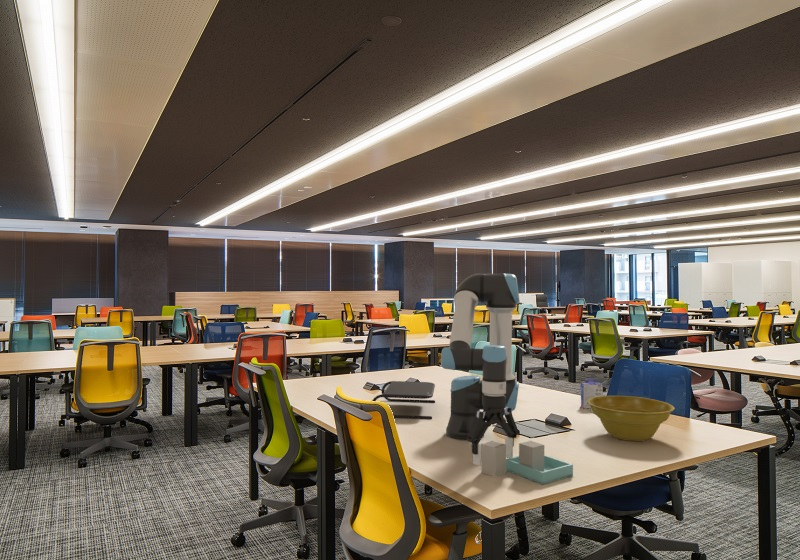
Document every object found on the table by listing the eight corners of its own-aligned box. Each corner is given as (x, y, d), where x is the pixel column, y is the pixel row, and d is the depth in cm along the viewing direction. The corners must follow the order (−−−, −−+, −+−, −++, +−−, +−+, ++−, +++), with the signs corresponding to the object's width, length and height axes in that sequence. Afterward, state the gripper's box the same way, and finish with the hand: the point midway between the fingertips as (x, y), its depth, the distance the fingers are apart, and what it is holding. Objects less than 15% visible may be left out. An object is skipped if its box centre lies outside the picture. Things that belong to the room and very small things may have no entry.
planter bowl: (621, 451, 195) (622, 414, 195) (571, 428, 226) (571, 396, 226) (693, 445, 203) (694, 409, 204) (635, 424, 235) (635, 394, 235)
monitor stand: (432, 420, 239) (432, 396, 240) (370, 417, 242) (370, 393, 243) (435, 403, 276) (435, 382, 276) (381, 401, 279) (381, 380, 279)
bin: (505, 470, 172) (505, 459, 172) (535, 462, 180) (535, 452, 180) (542, 484, 160) (542, 472, 160) (572, 475, 168) (572, 464, 168)
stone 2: (530, 468, 172) (530, 440, 172) (544, 473, 167) (544, 444, 168) (518, 471, 169) (519, 443, 169) (532, 477, 164) (532, 447, 165)
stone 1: (481, 472, 170) (481, 443, 170) (492, 468, 174) (492, 440, 174) (495, 476, 166) (495, 447, 166) (505, 473, 170) (506, 444, 170)
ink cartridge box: (599, 406, 271) (599, 377, 272) (603, 408, 266) (603, 379, 266) (580, 406, 271) (580, 377, 272) (583, 408, 266) (583, 379, 266)
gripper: (472, 399, 160) (471, 470, 159) (530, 392, 174) (529, 457, 174) (456, 395, 166) (455, 464, 165) (513, 389, 180) (512, 452, 180)
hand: (493, 461), depth 169 cm, fingers open, 13 cm apart
